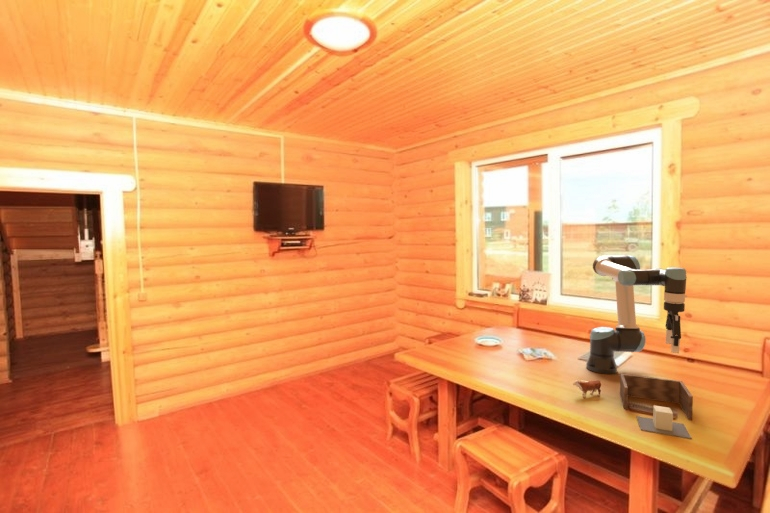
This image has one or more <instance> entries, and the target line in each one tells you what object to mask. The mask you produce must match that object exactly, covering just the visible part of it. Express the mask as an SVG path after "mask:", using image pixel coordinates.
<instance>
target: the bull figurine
mask: <svg viewBox="0 0 770 513" xmlns="http://www.w3.org/2000/svg"><path fill="white" fill-rule="evenodd" d="M572 385H573V386H576V387H577V388H578V389H579V390H580V391H582V393H583V394H582V398H583V399H585V398H586V397H587V396H586V395H587V392H588V391H589V392H590V394H589V395H591V396H592V395H593V394H594V392H598V394H597V397H600V396H601V391H602V390H601V386H602V384H601V381H600V380H599V379H597V380H583V379H582V380H580V379H576V380H574V382H573V383H572Z"/></svg>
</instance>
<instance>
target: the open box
mask: <svg viewBox="0 0 770 513" xmlns="http://www.w3.org/2000/svg"><path fill="white" fill-rule="evenodd" d="M619 378H620V379H619V382H620V383H619V394H620V398H621V399H620V400H621V402H622V406H623V410H626V411H628V397H631V398H640V399H647V400H653V401H659V402H665V403H667V402H668V403H673V404H674V403H675V404H679V407H680V408H681V410H682V411H683V413H684V414H685V416H686V418H687V420H688V421H692V420H693V403H694V401H693V400H694V396H693V395H692V393H691V392H690V391H689V389H688V388H687V386H686V384H685V383H684V382H683V380H682V381H681V380H674V379H668V378H667V379H666V378H658V377H652V376H651V377H649V376H642V375H634V374H626V373H620V377H619Z"/></svg>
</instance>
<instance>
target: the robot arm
mask: <svg viewBox="0 0 770 513" xmlns="http://www.w3.org/2000/svg"><path fill="white" fill-rule="evenodd" d="M592 270H593V271H594V273H595V274H597V275H599V276H603V277H606V276H607V277H609V278H611V279H612V280H613V281H614V282H615V296H616V311H617V312H616V313H617V324H616V326H615V329H614V328H613V327H608V326H599V327H595V328H592V329H591V330H590V335H589V338H590V339H589V340H590V341H589V342H590V343H589V357H588V358H587V361H586V365H585V366H586V369H587V370H588V371H591V372H593V373H597V374H604V375H613V374H616V373H617V372H618V365H617V363H616V360H615V356H614V353H615V352H618V353H619V352H620V353H627V352H628V353H639V352H641V351H643V349H644V348H645V346H646V336H645V333H644V332H643V331H642V330H640V329H641V328H640V326H639V325H637V320H636V318H637V316H636V305H635V304H636V303H635V302H636V301H635V292H634V286H662V287H664V292H663V301H664V302H663V310H665V311H667V315H666V321H665V324H664V325H665V329H666V330H665V333H666V334H665V344H666V345H671V348H670V352H671V353H672V354H680V345H681V344H680V341H681V339H682V332H681V330H682V328H681V315H680V314H679V313H683V312H685V310H686V309H685V306H686V305H685V301H686V298H687V297H688V296H687V295H686V288H687V270H686V268H684V267H676V266H670V267H666V268H665V269H664V268H656V267H655V268H652V269H651V268H650V269H641V263H640V261H639V260H638V259H637V257H636V256H635V255H628V254H617V255H615V254H614V255H613V254H609V255H607V254H606V255H601V256H599V257H597V258H596V259H595V260H593V262H592Z"/></svg>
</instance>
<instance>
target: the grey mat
mask: <svg viewBox="0 0 770 513" xmlns="http://www.w3.org/2000/svg"><path fill="white" fill-rule="evenodd" d="M636 418H637V423H638V425H639V429H640V431H644V432H649V433H654V434H660V435H665V436H671V437H676V438H683V439H687V440H688V439H689V440H692V436H691V434H690V433H689V431H688V429H687V428H686V425H685V424H684V423H682V422H675V421H673V429H672V431H669V430H663V429H657V428H655V426H654V423H653V417H652V418H651V417H647V416H646V417H645V416H638V415H637V416H636Z"/></svg>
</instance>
